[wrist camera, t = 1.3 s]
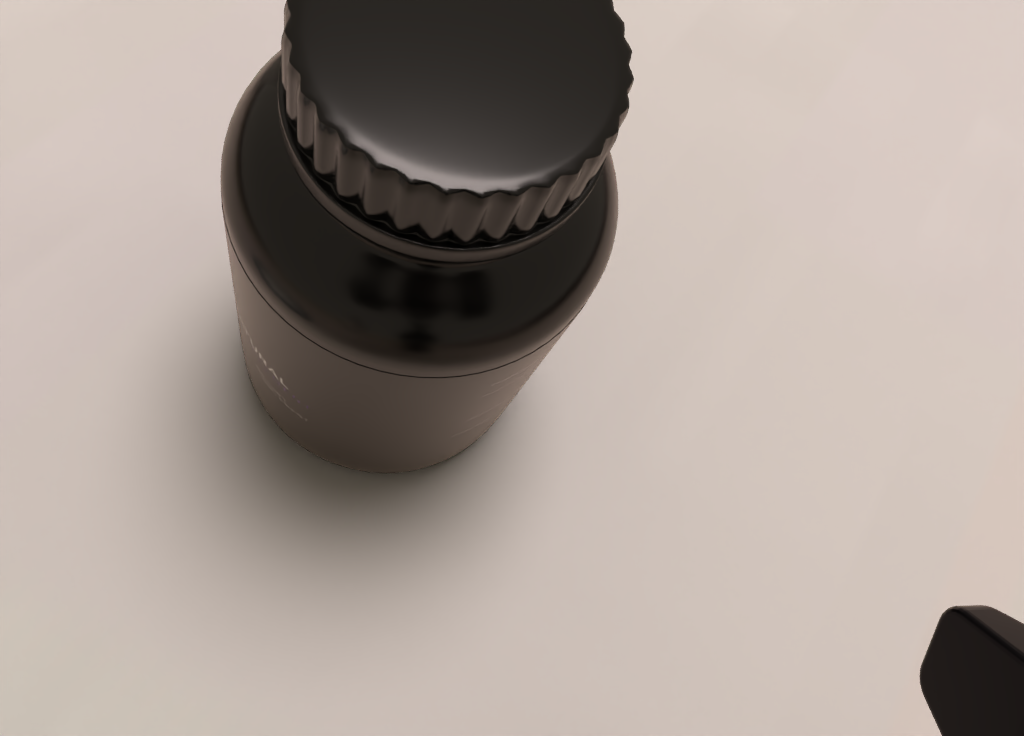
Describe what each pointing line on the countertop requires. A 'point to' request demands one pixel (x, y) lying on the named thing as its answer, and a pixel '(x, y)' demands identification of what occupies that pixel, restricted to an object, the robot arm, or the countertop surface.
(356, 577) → the countertop surface
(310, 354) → the supplement bottle
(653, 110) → the countertop surface
